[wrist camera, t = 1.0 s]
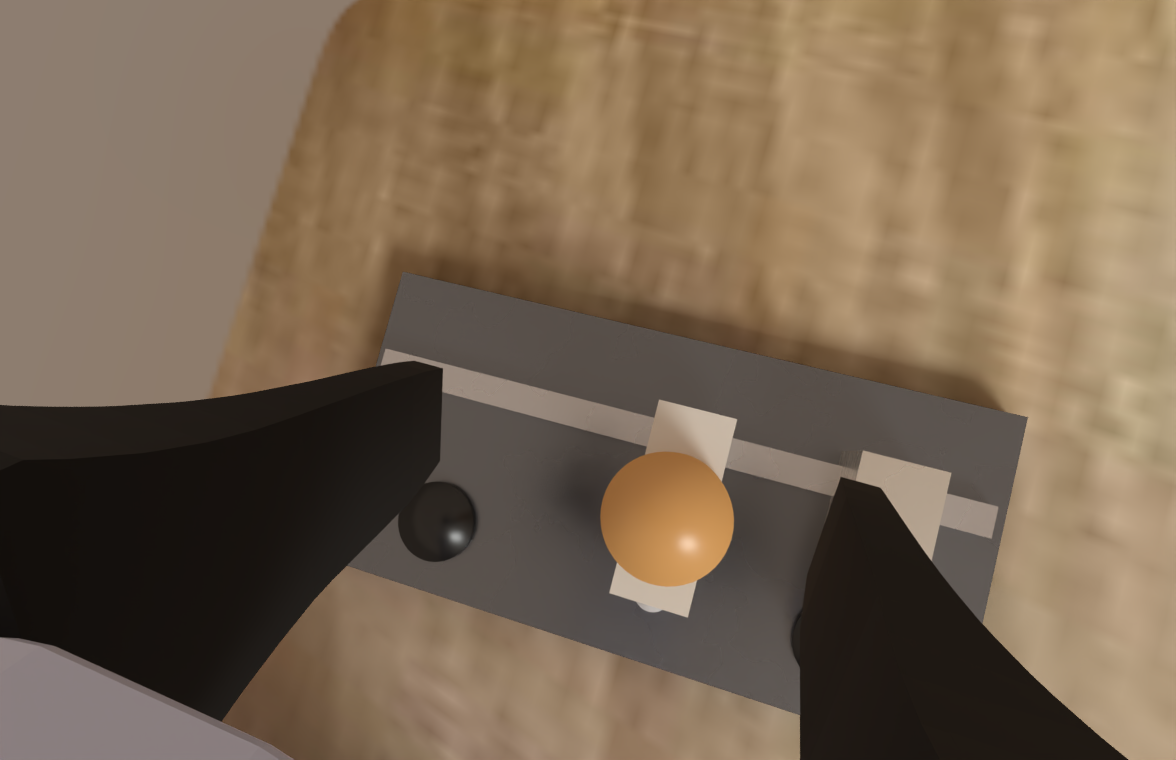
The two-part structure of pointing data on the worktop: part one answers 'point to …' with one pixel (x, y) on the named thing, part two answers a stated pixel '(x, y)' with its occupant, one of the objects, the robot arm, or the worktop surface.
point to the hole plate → (621, 433)
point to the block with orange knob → (670, 510)
